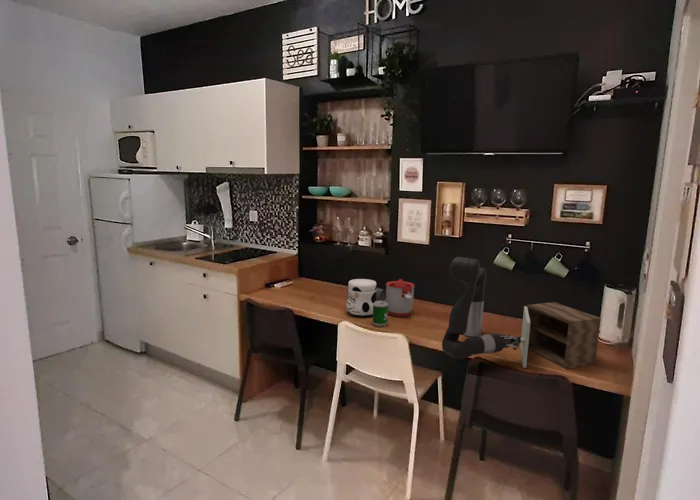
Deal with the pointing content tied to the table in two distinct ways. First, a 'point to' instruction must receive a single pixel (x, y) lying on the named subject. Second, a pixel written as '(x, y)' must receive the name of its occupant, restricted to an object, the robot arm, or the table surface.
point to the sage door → (525, 336)
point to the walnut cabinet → (563, 334)
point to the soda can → (380, 313)
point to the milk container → (361, 297)
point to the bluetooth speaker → (380, 294)
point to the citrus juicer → (399, 297)
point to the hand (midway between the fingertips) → (522, 339)
